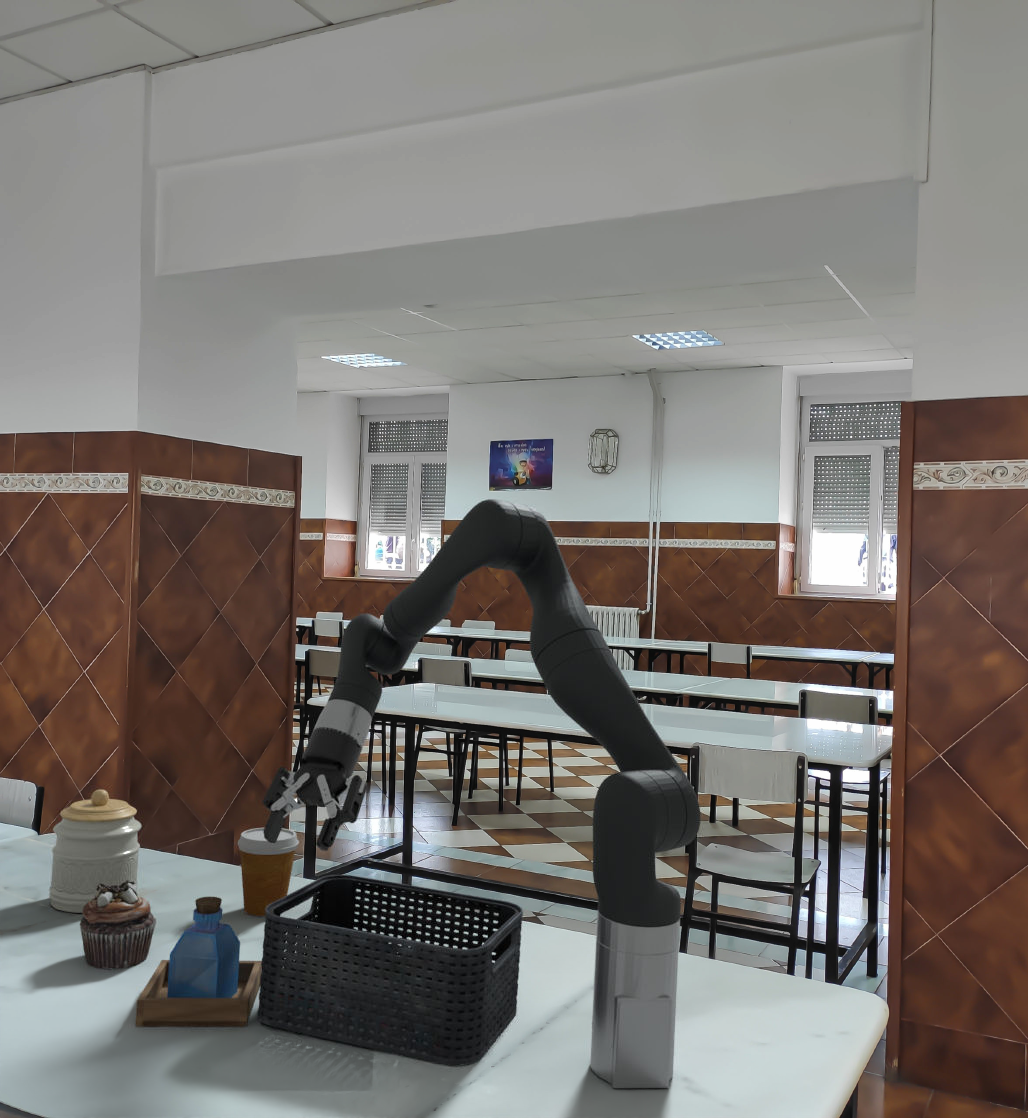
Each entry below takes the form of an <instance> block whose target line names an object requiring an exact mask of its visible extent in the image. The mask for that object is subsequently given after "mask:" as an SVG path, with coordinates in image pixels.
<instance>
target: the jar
mask: <svg viewBox="0 0 1028 1118" xmlns="http://www.w3.org/2000/svg"><path fill="white" fill-rule="evenodd" d="M137 812H138V810H137V808H135V807H133V806H131V805H130V804H129V803H128V802H127V801H125V800H121V799H115V798H114V799H113V798H112V799H111V798H110V795H109V793H108V791H107V790H105V789H102V788H101V789H96V790H95V791H93V792H92V794H91V796H90V799H83V800H79V801H75V802H73V803H72V804H70V806H68V807H66V808H64V809H63V810H61V811H60V813H59V814H60V816H61V818H62V820H61V821H60V822H58V823H57V824H55V825H54V827H53V829H52V831H53V832H54V834H55V835H56V840H55V845H54V846H53V847H52V849H51V852H52V862H51V863H52V864H51V865H52V866H51V877H50V879H51V881H50V887H49V893H48V897H49V900H50V906H51V907H52V908H54V909H55V910H59V911H60V912H61V911H63V912H67V913H74V914H76V913H77V914H83V913H82V911H83V908H84V906H85V905H86V904H87V903H88V902H89V901H90V900H91V899H94V898H95V897H94V893H95V890H96V889H97V888H98V887H97V886H98V885H99V884H104V885H107V886H110V887H111V886H112V885H118V886H120V885H121V884H122V883H124V882H126V881H127V880H129V881H130V882H133V881H134V883H135V884H134V885H135V886H136V888H137V889H138V885H139V884H138V865H139V851H140V848H141V845H140V843H139V842H138V832H139V831H140V830H141V829H142V824H141V822H140V821H138V820H137V819H135V817H134V816H135V815H136V814H137ZM137 892H138V890H137V891H136V893H137ZM137 894H138V893H137Z"/></svg>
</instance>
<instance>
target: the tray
mask: <svg viewBox="0 0 1028 1118" xmlns="http://www.w3.org/2000/svg"><path fill="white" fill-rule="evenodd" d="M169 961H170V959H162V960H161V961H160V962H159V964H158V965H157V967H156V969H155V970H154V972H153V973H152V975H151V977H150V978H149V980H148V982H147V983H146V985H145V987H144V988H143V990H142V991H141V993H140V994H139V996H138V997H137V999H136V1006H135V1007H136V1009H135V1010H136V1011H135V1012H136V1013H135V1023H134V1024H135V1025H134V1026H135V1027H181V1028H183V1027H202V1028H203V1027H204V1028H205V1027H210V1028H211V1027H212V1028H213V1027H221V1028H222V1027H223V1028H224V1027H227V1028H228V1027H229V1028H231V1027H232V1028H233V1027H235V1028H237V1027H241V1028H242V1027H244V1028H247V1025H248V1023H249V1020H250V1017H251V1014H252V1011H253V1008H254V1006H255V1002H256V1000H257V996H258V995H259V992H260V984H261V983H260V976H261V970H262V965H261V962H262V960H239V971H238V988H237V993H236V994H234V995H233V996H232V997H231V998H167V993H168V977H169Z"/></svg>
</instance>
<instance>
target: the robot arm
mask: <svg viewBox="0 0 1028 1118" xmlns="http://www.w3.org/2000/svg"><path fill="white" fill-rule="evenodd" d="M483 567H486V568H490V569H496V570H503V571H511V572H512V573H513V574H514V575H516V577H517V578H518V580H519V582H520V583H521V584H522V586H523V588H524V590H525V592H526V594H527V596H528V598H529V600H530V603H531V607H532V617H531V618H532V619H531V624H530V625H531V626H530V631H529V632H530V633H529V650H530V656H531V658H532V661H533V663H534V665H535V668H536V669H537V672H538V674H539V676H540V678H541V680H542V682H543V684H544V686H545V688H546V690H547V692H548V694H549V695H550V697H551V699H552V700H553V702H554V703H555V704H556V705H557V706H558V707H559V709H560V710H561V711H562V712H564V714H565V715H567V716H568V717H569V718H570V719H571V720H572V721H573V722H574V723H576V724H577V725H578V726H579V727H580V728H581V729H583V730H584V731H585V732H586V733H588V734H589V735H590V736H591V737H592V738H593V739H594V740H595V741H596V742H598V743H599V744H600V745H601V747H603V748H604V750H606V752H607V754H608V755H609V756H610V757H611V759H612V760H613V762H614V763H615V765H616V767H617V768H618V770H619V772H615V773H612V774H610V775H608V776H607V777H605V778H604V780H602V782H601V783H600V785H599V787H598V790H597V792H596V795H595V799H594V801H593V802H594V804H593V811H592V878H593V884H594V888H595V891H596V894H597V895H596V896H597V919H596V937H595V938H596V939H595V958H594V960H595V961H594V974H593V975H594V976H593V977H594V978H593V979H594V980H593V999H592V1016H591V1017H592V1018H591V1019H592V1021H591V1039H590V1040H591V1043H590V1044H591V1046H590V1068H591V1070H592V1072H593V1073H594V1074H595V1075H596V1076H598V1077H599V1078H601V1079H603V1080H604V1081H606V1082H608V1083H610V1085H611V1086H612V1088H614V1089H663V1088H664V1089H665V1088H667V1089H669V1087H670V1080H671V1079H672V1077H673V1075H674V1062H675V1061H674V1060H675V1059H674V1058H675V1038H676V1037H675V1036H676V1035H675V1034H676V1013H677V1011H676V1009H677V993H678V992H677V991H678V989H677V988H678V969H679V965H678V964H679V947H680V946H679V945H680V929H681V928H680V926H681V910H682V909H681V907H682V897H681V894H680V893H679V891H678V890H677V888H675V887H674V886H673V885H671V884H669V883H666V882H663V881H661V880H659V879H658V880H657V875H656V853H661V852H662V853H663V852H667V851H671V850H672V851H673V850H677V849H680V848H683V847H685V846H688V845H689V844H691V843H692V841H694V840H695V839H696V837H697V835H698V833H699V831H700V826H701V807H700V803H699V799H698V796H697V794H696V792H695V789H694V787H693V785H692V783H691V781H690V779H689V777H688V775H686V773H685V771H684V770H683V769H682V766H680V764H679V762H678V761H677V760H676V759H675V757H674V755H673V754H672V753H671V751H670V750H669V748H668V747H667V745H666V744H665V743H664V740H662V738H661V737H660V736H659V734H658V732H657V731H656V729H655V728H654V727H653V725H652V723H651V721H650V719H649V718H648V717H647V715H646V713H645V711H644V710H643V708H642V706H641V705H640V702H639V701H638V699H637V697H636V696H635V694H634V692H633V690H632V688H631V687H630V685H629V684H628V682H627V680H626V679H625V676H624V675H623V673H622V672H621V668H620V667H619V665H618V663H617V661H616V659H615V657H614V655H613V653H612V651H611V649H610V647H609V645H608V643H607V641H606V640H605V638H604V636H603V634H602V633H601V630H600V629H599V628H598V625H597V624H596V622H595V621H594V619H593V617H592V616H591V614H590V612H589V610H588V608H587V606H586V604H585V602H584V600H583V597H582V596H581V594H580V592H579V591H578V588H577V587H576V585H575V582H574V581H573V578H572V577H571V574H570V572H569V570H568V567H567V564H566V563H565V560H564V558H563V555H562V553H561V550H560V547H559V545H558V542H557V540H556V537H555V535H554V532H553V531H552V528H551V526H550V524H549V522H548V520H547V519H546V518H545V516H544V515H543V514H542V512H540V511H539V510H537V509H536V508H534V507H531V506H529V505H526V504H521V503H516V502H511V501H507V500H502V499H492V498H489V499H486V500H485V499H484V500H481V501H479V502H478V503H477V504H475V505H474V506H473V507H472V508H471V509H470V510H469V511H468V512H467V513H466V515H465V516H464V517H463V518H462V519H461V521H460V522H459V523H458V525H456V527H455V528H454V530H453V531H452V533H451V534H450V535H449V537H448V538H447V539H446V540H445V542H444V543H443V545H442V546H441V547H440V548H439V550H438V551H437V552H436V554H435V555H434V557H433V558H432V560H431V561H430V562H429V563H428V565H427V566H426V567H425V569H424V570H423V571H422V572H421V573H420V574H419V575H418V577H416V578H415V579H414V580H413V581H412V582H411V583H410V584H409V585H407V587H405V588H404V589H403V590H402V591H401V592H400V593H399V594H398V595H397V596H396V597H394V598H393V599H392V600H391V601H390V602H389V603H388V604H387V605H386V606H385V608H384V610H383V614H382V619H383V620H381V619H380V618H379V617H376V616H374V614H373V615H372V614H370V613H361V614H358V615H356V616H354V617H353V618H352V619H351V620H350V621H349V623H348V624H347V626H346V627H345V630H344V631H343V635H342V639H341V643H340V655H339V663H338V670H337V676H336V680H335V683H334V685H333V689H332V690H331V693H330V696H329V698H328V699H327V702H326V704H325V705H324V708H323V709H322V711H321V713H320V714H319V716H318V719H317V721H316V724H314V728H313V731H312V732H311V735H310V737H309V740H308V743H307V744H306V747H305V749H304V751H303V753H302V758H301V765H300V767H299V768H298V769H297V770H296V771H290V770H287V768H285V767H284V766H282V767H279V768H278V769H277V772H276V774H275V775H274V778H273V780H272V781H271V783H270V786H269V788H268V790H267V792H266V794H265V795H264V797H263V799H262V805H263V806H264V807H265V808H266V809H267V810H268V811H270V813H269V816H268V820H267V821H266V823H265V826H264V827H263V828H264V832H263V834H264V838H265V839H266V840H267V841H268V842H269V843H276V841H277V839H278V836H279V834H280V832H281V829H282V828H283V827H284V825H285V821H286V817H287V816H288V815H291V813H292V812H294V811H295V810H299V809H301V808H302V807H303V806H304V805H305V806H312V807H313V806H317V807H319V808H325V809H326V812H327V815H328V818H324V822H323V824H322V827H321V829H320V832H319V834H318V837H317V839H316V846H317V847H318V848H319V850H321V851H322V852H323V851H324V852H328V850H329V848H331V847H332V846H333V845H334V842H335V840H336V837H337V835H338V832H339V830H340V827H341V826H343V824H346V823H349V824H354V823H355V822H357V820H358V817H359V813H360V811H361V807H362V804H363V802H364V798H365V795H366V792H367V789H368V784H367V783H366V782H365V780H364V779H363V778H362V777H361V776H360V775H359V774H355V775H353V774H354V771H355V768H356V766H357V763H358V761H359V760H360V759H359V758H360V755H361V753H362V751H363V749H364V746H365V743H366V740H367V738H368V735H369V732H370V728H371V724H372V720H373V718H374V715H375V713H376V710H377V707H378V705H379V704H380V703H379V702H380V700H381V697H382V695H383V694H382V693H383V687H382V684H381V682H380V681H379V680H378V679H377V678H376V677H375V675H373V673H371V671H370V670H369V669H372V670H373V671H376V672H377V673H378V674H381V675H384V676H391V675H395V674H397V673H398V672H400V671H402V669H403V668H404V667H405V665H406V663H407V662H408V660H409V657H411V653H412V652H413V651H414V648H415V647H416V646H417V644H418V643H419V641H420V640H421V639H422V638H423V637H424V636H425V635H426V634H427V633H429V632H430V631H431V630H432V629H433V628H435V627H436V626H437V625H438V624H440V622H442V621H443V620H444V619H445V618H446V616H448V614H449V613H450V611H451V610H452V607H453V606H454V603H455V600H456V596H457V590H458V587H459V584H460V583H461V582H462V581H463V580H464V579H465V578H466V577H467V576H470V574H472V573H474V572H475V571H477V570H479V569H481V568H483ZM368 668H369V669H368ZM352 775H353V776H352ZM345 791H347V792H346V796H345V799H344V801H343V806H342V804H341V800H340V796H341V795H342V794H343V793H344V792H345ZM295 795H296V796H297V798H295V797H294V796H295Z"/></svg>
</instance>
